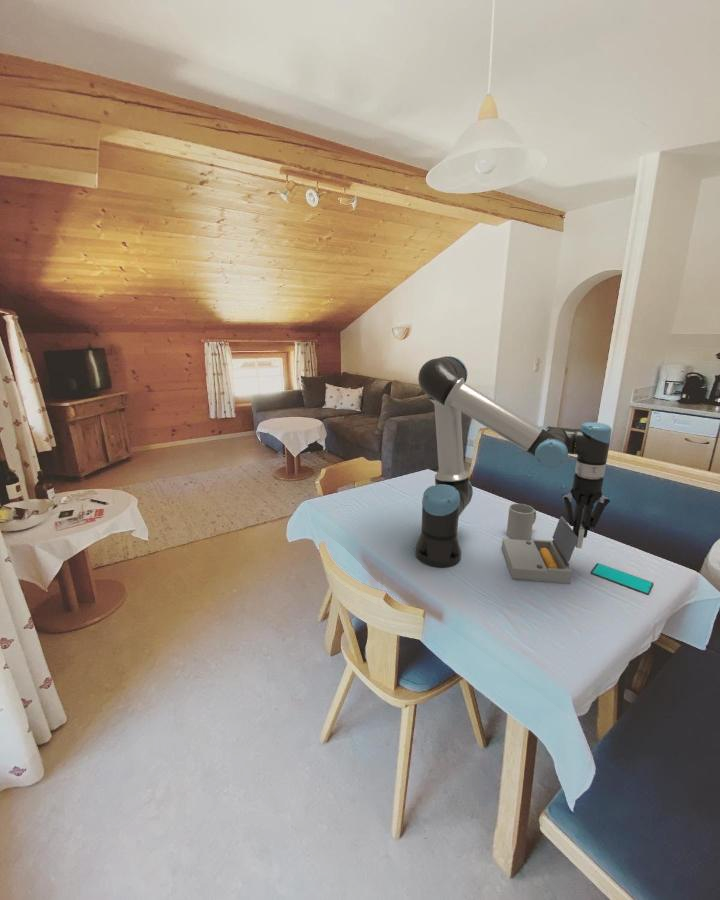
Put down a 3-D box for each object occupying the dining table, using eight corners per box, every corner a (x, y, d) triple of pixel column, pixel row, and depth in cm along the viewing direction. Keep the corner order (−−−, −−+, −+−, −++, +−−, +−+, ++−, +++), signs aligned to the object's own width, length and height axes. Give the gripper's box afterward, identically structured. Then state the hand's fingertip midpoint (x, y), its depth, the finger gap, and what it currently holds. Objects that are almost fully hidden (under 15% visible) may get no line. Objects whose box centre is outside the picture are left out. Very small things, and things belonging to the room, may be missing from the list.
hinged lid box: (511, 578, 119) (513, 566, 118) (501, 547, 136) (502, 536, 135) (570, 583, 117) (572, 571, 115) (552, 551, 134) (554, 540, 132)
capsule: (552, 576, 120) (546, 569, 120) (541, 555, 131) (536, 548, 131) (561, 572, 119) (555, 564, 119) (549, 551, 130) (544, 544, 130)
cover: (575, 537, 114) (580, 538, 114) (560, 516, 127) (564, 517, 127) (564, 565, 117) (568, 566, 117) (550, 541, 131) (554, 542, 130)
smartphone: (597, 562, 126) (653, 582, 116) (596, 565, 126) (653, 585, 116) (590, 572, 121) (648, 594, 111) (589, 574, 121) (648, 596, 111)
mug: (519, 543, 139) (523, 515, 136) (501, 533, 146) (504, 506, 143) (542, 535, 144) (546, 508, 141) (523, 525, 151) (527, 499, 148)
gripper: (569, 478, 113) (559, 550, 120) (618, 480, 111) (605, 553, 118) (561, 470, 120) (552, 538, 127) (607, 471, 118) (595, 541, 125)
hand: (577, 545), depth 122 cm, fingers closed
